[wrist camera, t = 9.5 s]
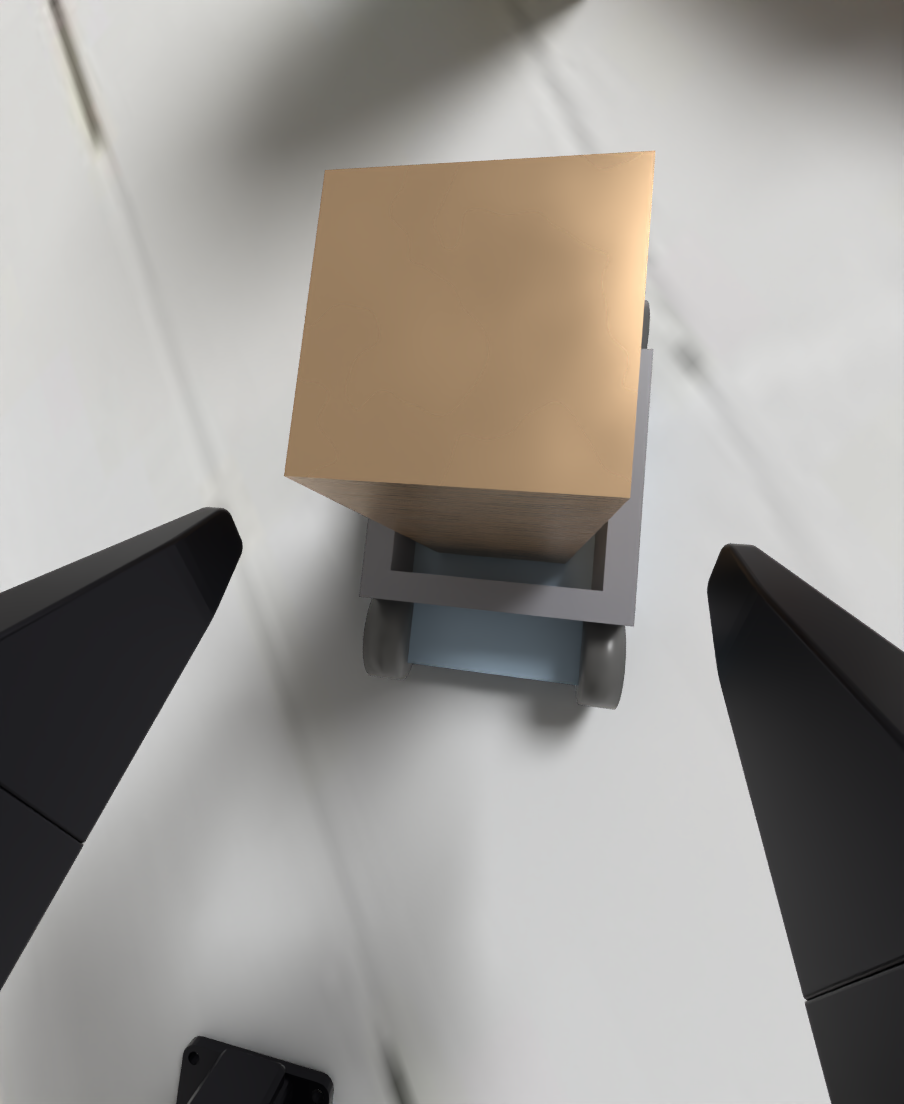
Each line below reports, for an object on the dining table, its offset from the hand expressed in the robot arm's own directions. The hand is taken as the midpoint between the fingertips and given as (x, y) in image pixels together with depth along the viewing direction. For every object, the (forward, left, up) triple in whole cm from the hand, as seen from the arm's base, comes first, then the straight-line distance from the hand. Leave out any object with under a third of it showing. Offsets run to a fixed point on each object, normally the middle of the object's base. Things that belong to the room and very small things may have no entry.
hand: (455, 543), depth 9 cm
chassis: (+3, 0, -11) cm, 12 cm away
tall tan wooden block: (+3, 0, -10) cm, 10 cm away
